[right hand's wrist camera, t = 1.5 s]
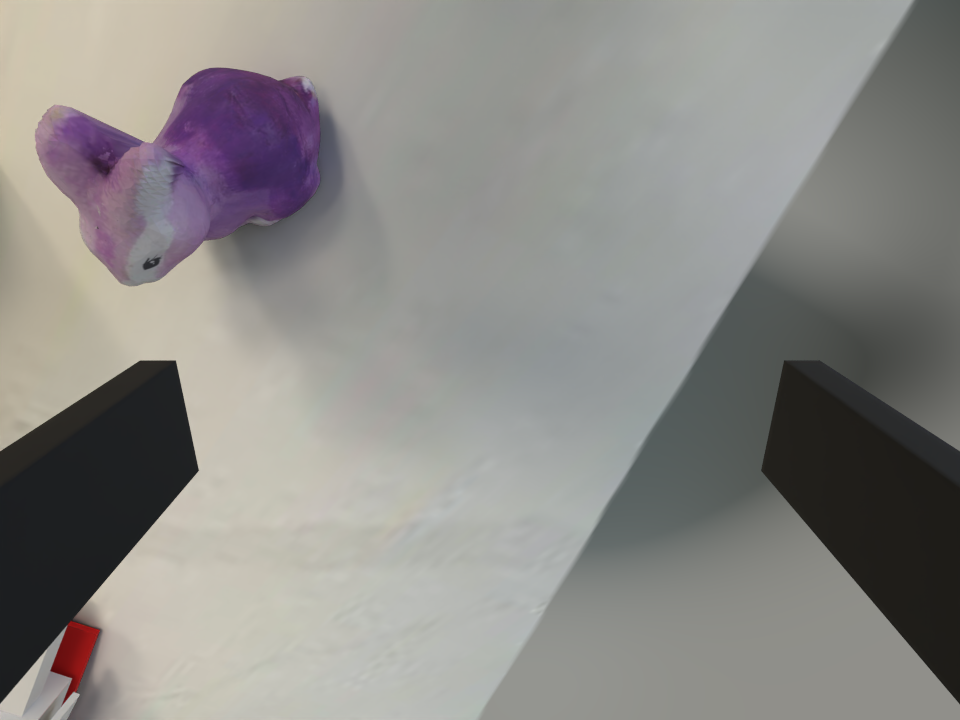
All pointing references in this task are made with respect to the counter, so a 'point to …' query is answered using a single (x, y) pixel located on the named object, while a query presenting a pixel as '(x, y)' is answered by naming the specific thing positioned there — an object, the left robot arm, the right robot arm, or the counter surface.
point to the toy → (52, 678)
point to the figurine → (186, 169)
